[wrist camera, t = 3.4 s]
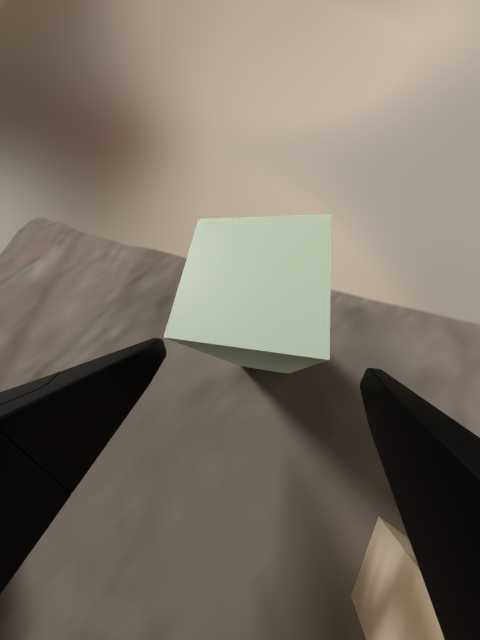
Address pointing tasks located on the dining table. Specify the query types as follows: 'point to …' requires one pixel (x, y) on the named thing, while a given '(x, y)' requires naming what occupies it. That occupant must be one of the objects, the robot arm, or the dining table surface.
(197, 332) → the sage block
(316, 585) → the dining table surface
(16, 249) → the dining table surface
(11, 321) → the dining table surface
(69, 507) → the dining table surface
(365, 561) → the birch block
